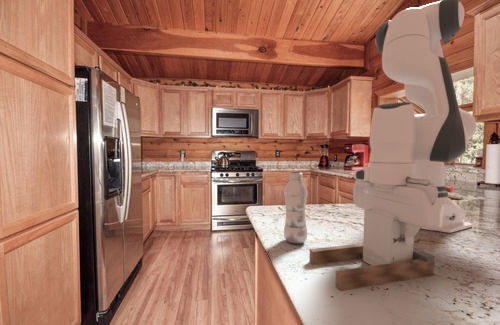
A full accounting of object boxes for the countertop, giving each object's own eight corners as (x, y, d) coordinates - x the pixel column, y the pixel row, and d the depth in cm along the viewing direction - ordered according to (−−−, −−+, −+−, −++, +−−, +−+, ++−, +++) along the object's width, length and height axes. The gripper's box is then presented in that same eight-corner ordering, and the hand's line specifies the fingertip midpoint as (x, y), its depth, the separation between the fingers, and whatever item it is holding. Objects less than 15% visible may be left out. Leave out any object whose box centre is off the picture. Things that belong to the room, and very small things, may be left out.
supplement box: (389, 276, 50) (391, 216, 50) (361, 260, 57) (363, 208, 56) (414, 269, 53) (416, 213, 52) (384, 255, 60) (385, 205, 59)
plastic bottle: (302, 248, 64) (303, 174, 63) (279, 243, 68) (280, 172, 67) (310, 240, 70) (311, 172, 69) (288, 236, 73) (289, 171, 72)
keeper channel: (388, 251, 62) (388, 236, 62) (434, 275, 51) (434, 256, 50) (309, 261, 57) (309, 245, 56) (340, 290, 45) (341, 269, 45)
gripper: (450, 180, 45) (447, 253, 45) (369, 171, 64) (368, 221, 65) (423, 181, 43) (420, 257, 44) (349, 171, 63) (348, 223, 63)
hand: (388, 235), depth 55 cm, fingers open, 8 cm apart
